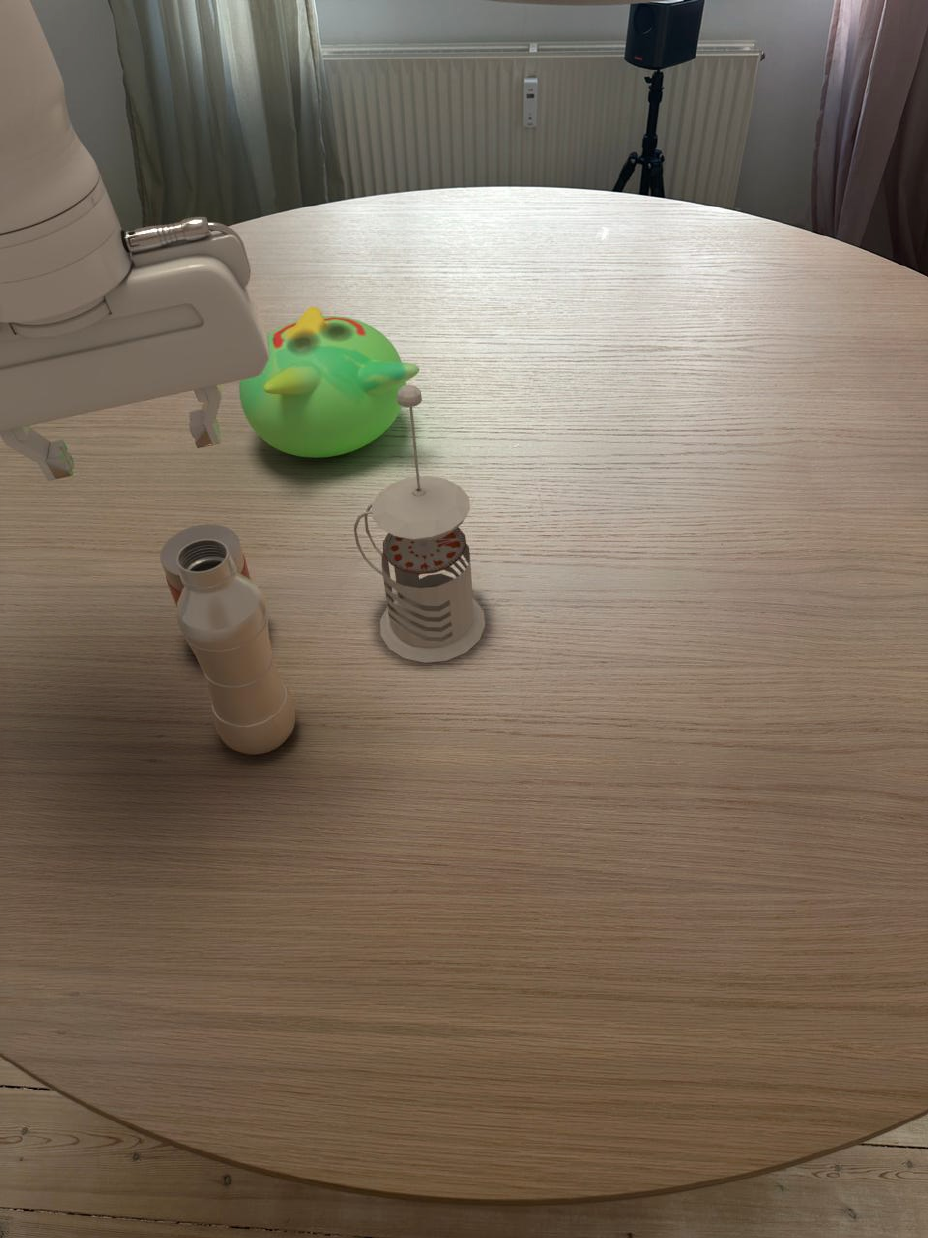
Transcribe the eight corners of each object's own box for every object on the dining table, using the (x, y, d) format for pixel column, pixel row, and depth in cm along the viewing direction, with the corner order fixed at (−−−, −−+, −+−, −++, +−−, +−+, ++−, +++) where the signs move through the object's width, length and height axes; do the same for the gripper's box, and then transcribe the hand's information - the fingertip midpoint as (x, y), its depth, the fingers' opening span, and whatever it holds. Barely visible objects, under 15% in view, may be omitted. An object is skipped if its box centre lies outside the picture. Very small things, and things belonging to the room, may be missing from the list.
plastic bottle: (244, 696, 85) (185, 517, 71) (314, 714, 83) (267, 535, 69) (206, 753, 81) (134, 576, 67) (278, 774, 79) (220, 596, 65)
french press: (452, 677, 86) (432, 438, 68) (342, 634, 90) (295, 399, 72) (504, 606, 91) (498, 369, 74) (398, 568, 96) (368, 336, 78)
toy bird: (384, 386, 119) (370, 270, 108) (435, 461, 108) (425, 341, 97) (239, 424, 114) (210, 307, 104) (276, 507, 103) (248, 385, 93)
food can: (185, 669, 88) (152, 579, 80) (197, 615, 93) (166, 525, 85) (261, 664, 88) (234, 574, 80) (269, 611, 92) (244, 521, 85)
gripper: (231, 184, 54) (294, 393, 64) (-137, 261, 54) (-15, 460, 64) (234, 236, 50) (301, 451, 60) (-166, 320, 49) (-30, 523, 59)
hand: (136, 456), depth 62 cm, fingers open, 8 cm apart
